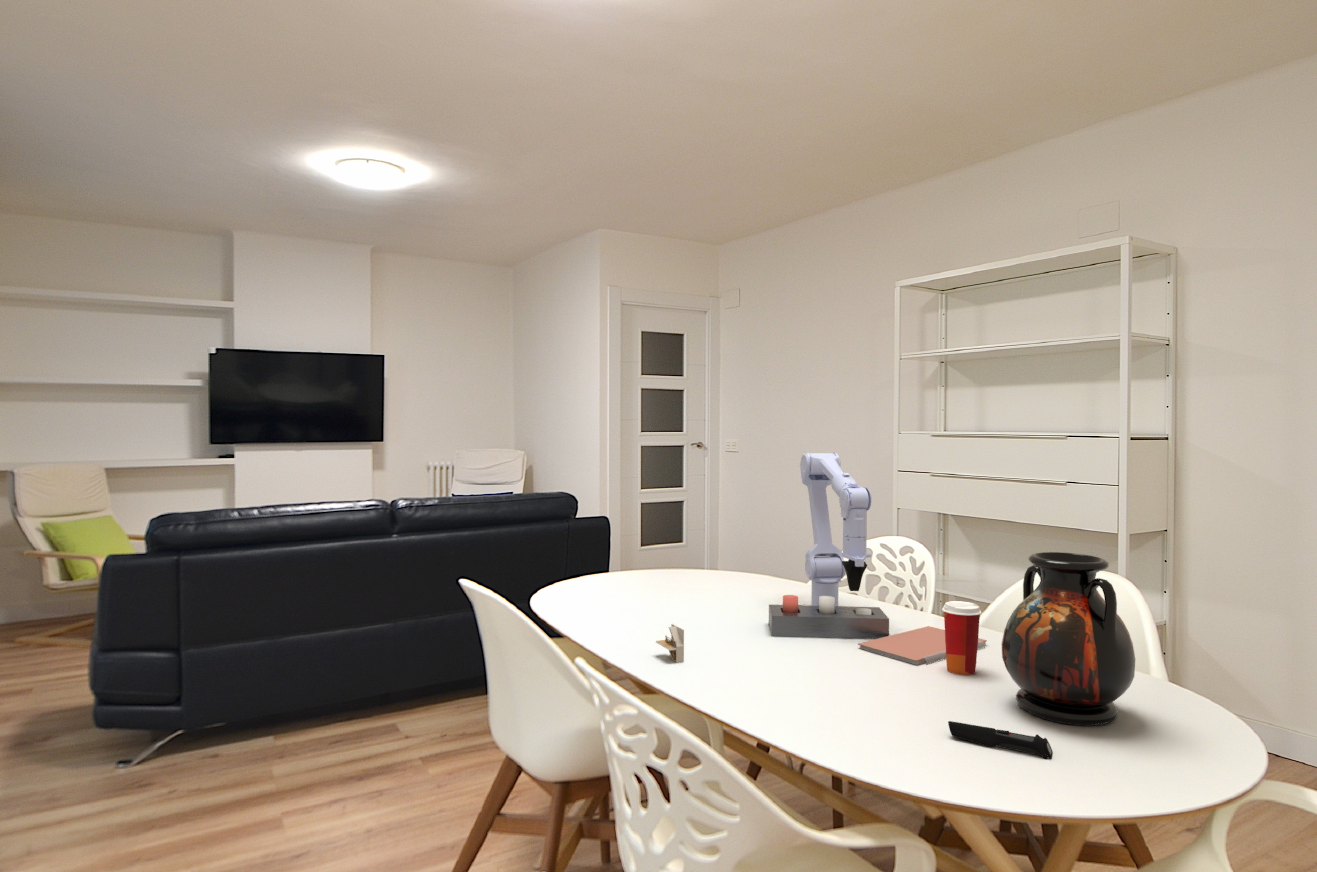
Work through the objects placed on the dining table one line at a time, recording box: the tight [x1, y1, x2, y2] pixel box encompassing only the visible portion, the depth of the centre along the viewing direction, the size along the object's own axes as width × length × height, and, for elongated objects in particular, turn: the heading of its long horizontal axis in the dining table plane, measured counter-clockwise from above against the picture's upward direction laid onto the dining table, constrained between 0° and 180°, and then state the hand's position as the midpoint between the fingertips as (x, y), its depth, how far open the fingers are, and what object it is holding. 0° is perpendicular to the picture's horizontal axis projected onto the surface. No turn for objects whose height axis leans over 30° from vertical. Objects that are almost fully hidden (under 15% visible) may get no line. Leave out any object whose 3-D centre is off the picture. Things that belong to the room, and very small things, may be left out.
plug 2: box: [856, 608, 871, 615], centre depth 195 cm, size 4×4×5 cm
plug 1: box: [819, 596, 835, 614], centre depth 196 cm, size 4×4×5 cm
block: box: [768, 604, 890, 640], centre depth 196 cm, size 12×28×5 cm, turn 85°
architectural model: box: [655, 623, 685, 664], centre depth 173 cm, size 3×7×7 cm, turn 27°
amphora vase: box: [1001, 551, 1136, 727], centre depth 142 cm, size 22×22×28 cm
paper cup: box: [941, 600, 982, 676], centre depth 165 cm, size 8×8×14 cm
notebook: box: [857, 625, 988, 666], centre depth 183 cm, size 27×17×2 cm, turn 126°
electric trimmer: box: [947, 720, 1053, 760], centre depth 127 cm, size 4×16×3 cm, turn 60°
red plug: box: [782, 594, 799, 613], centre depth 197 cm, size 4×4×5 cm
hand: (854, 590), depth 195 cm, fingers closed
